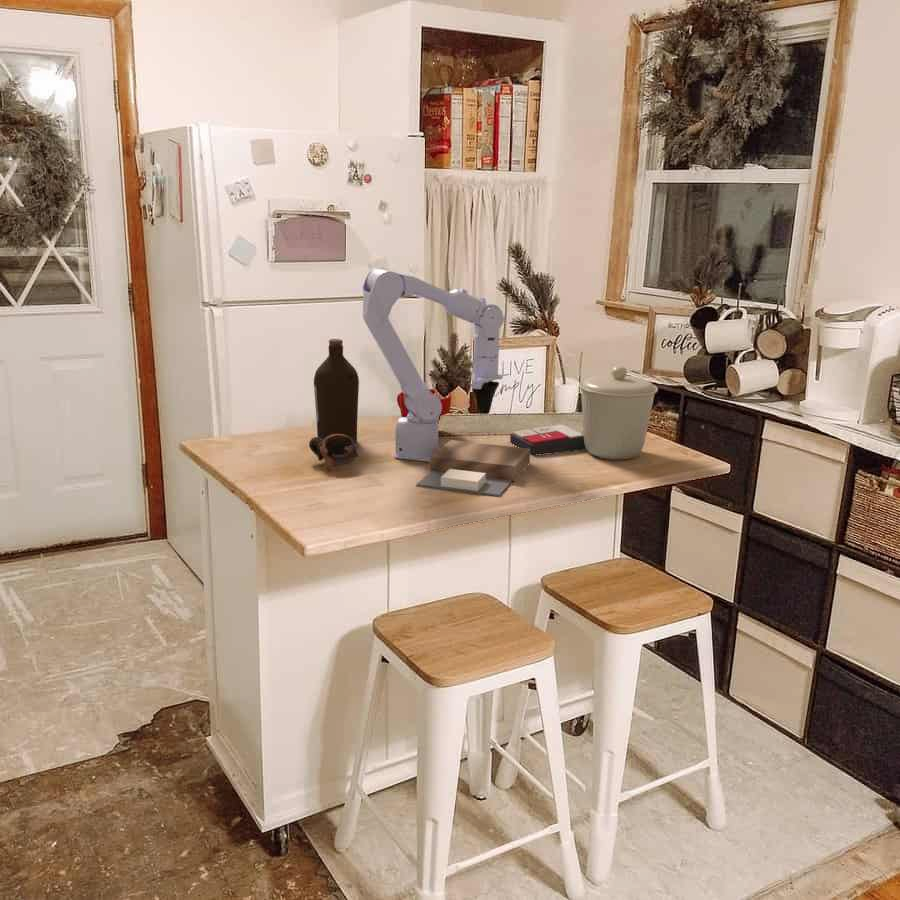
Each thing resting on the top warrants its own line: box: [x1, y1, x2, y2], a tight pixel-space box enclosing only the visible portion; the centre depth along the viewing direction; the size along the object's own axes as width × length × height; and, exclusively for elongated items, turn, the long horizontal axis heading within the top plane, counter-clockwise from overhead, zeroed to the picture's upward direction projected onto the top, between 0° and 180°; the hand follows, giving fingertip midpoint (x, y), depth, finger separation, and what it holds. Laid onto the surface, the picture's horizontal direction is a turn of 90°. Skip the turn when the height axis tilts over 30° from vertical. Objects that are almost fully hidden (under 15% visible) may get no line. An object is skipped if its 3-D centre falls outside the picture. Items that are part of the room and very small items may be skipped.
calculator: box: [509, 424, 587, 456], centre depth 217 cm, size 11×4×15 cm
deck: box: [429, 439, 531, 482], centre depth 199 cm, size 19×14×4 cm
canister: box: [578, 365, 659, 461], centre depth 209 cm, size 18×18×21 cm
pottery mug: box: [308, 434, 360, 472], centre depth 198 cm, size 12×10×8 cm
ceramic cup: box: [396, 388, 452, 424], centre depth 226 cm, size 13×17×10 cm
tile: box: [441, 469, 486, 491], centre depth 187 cm, size 8×6×2 cm
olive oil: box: [313, 338, 360, 448], centre depth 213 cm, size 11×11×25 cm
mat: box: [415, 471, 512, 497], centre depth 189 cm, size 18×10×1 cm, turn 72°
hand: (484, 413), depth 209 cm, fingers closed
